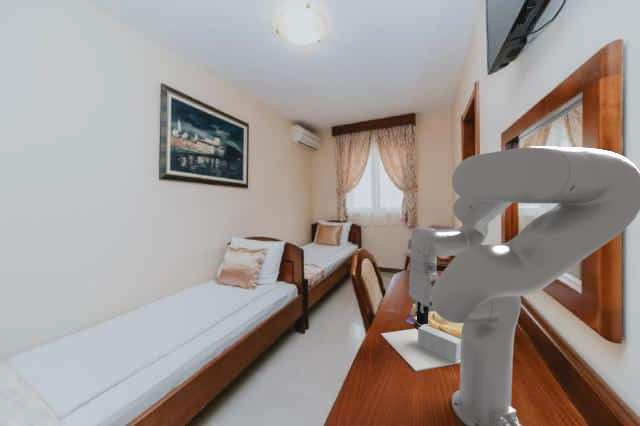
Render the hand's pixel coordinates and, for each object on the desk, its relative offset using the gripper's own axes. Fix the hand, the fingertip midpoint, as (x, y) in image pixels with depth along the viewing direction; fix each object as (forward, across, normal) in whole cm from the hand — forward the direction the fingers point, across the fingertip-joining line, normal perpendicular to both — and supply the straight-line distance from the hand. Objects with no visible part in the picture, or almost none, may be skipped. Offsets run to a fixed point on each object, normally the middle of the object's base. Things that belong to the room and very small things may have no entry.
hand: (422, 323), depth 78 cm
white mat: (+9, +2, 0) cm, 9 cm away
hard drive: (+10, +18, -14) cm, 24 cm away
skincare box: (+6, +3, -2) cm, 7 cm away
